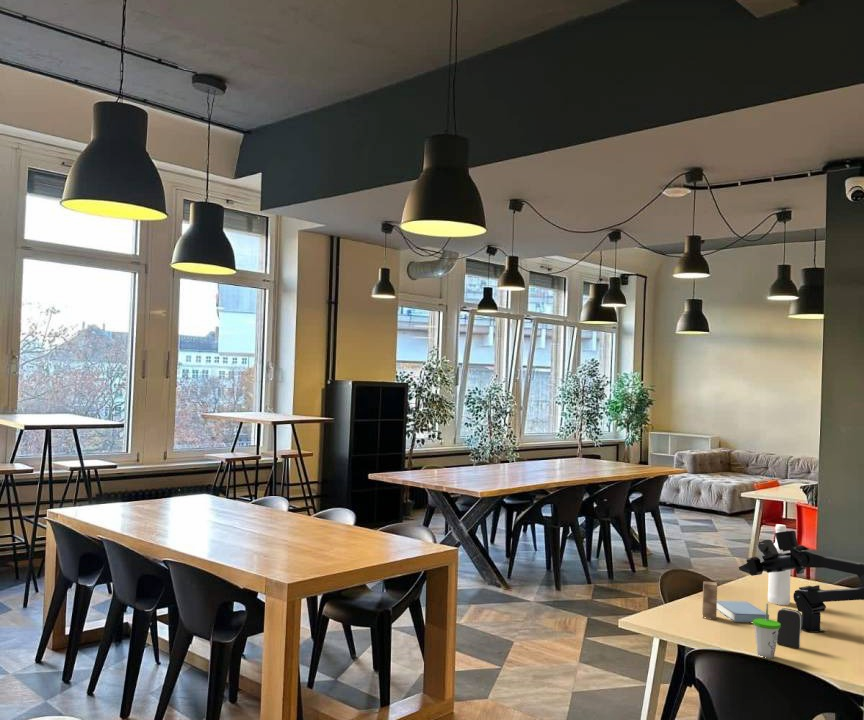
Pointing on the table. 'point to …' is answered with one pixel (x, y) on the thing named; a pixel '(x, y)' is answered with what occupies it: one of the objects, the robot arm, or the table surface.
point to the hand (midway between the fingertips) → (746, 567)
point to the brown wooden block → (709, 599)
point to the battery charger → (789, 627)
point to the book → (740, 611)
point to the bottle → (779, 579)
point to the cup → (766, 635)
